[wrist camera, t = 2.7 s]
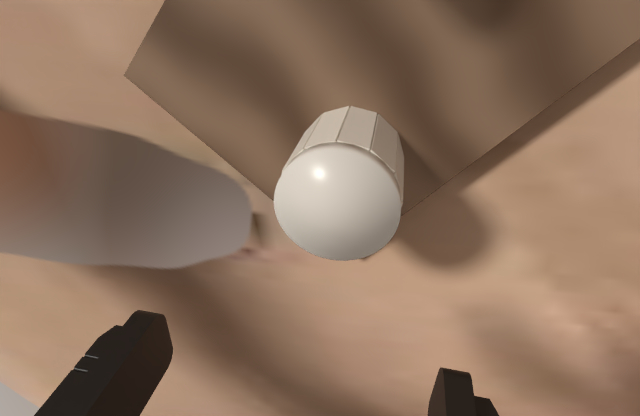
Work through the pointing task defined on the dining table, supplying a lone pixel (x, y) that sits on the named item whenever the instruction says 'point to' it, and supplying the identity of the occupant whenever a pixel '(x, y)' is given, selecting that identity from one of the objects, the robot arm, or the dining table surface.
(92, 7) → the dining table surface
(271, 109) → the post board
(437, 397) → the robot arm
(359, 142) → the cap
